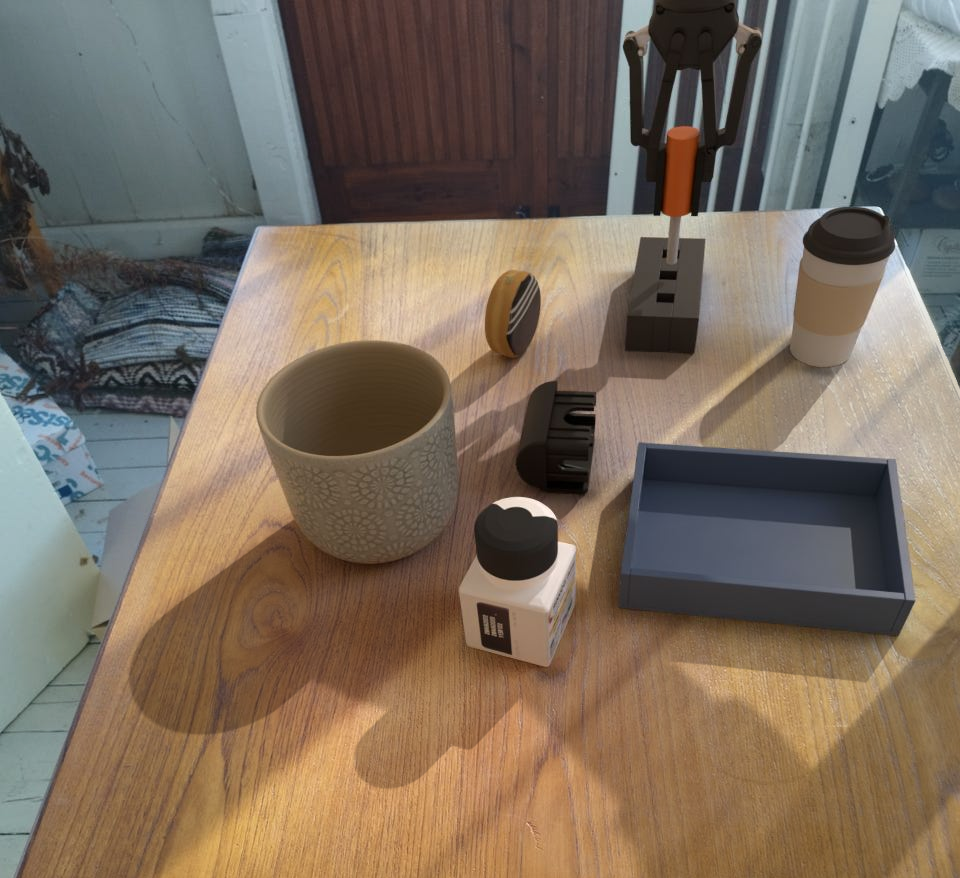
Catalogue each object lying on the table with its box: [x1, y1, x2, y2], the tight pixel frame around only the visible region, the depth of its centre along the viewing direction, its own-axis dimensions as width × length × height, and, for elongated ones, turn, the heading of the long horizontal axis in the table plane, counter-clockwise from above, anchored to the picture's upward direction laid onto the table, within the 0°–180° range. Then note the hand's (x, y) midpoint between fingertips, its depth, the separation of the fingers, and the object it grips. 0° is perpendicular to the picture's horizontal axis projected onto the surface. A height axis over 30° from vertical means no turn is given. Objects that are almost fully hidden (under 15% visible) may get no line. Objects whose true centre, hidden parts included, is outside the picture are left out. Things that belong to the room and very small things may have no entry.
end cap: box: [515, 380, 597, 495], centre depth 88 cm, size 10×7×7 cm
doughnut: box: [484, 269, 542, 359], centre depth 100 cm, size 9×4×10 cm, turn 153°
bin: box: [617, 441, 916, 637], centre depth 79 cm, size 24×18×4 cm
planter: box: [255, 339, 459, 565], centre depth 81 cm, size 17×17×15 cm
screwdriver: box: [661, 125, 701, 265], centre depth 96 cm, size 3×3×14 cm
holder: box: [624, 236, 707, 354], centre depth 105 cm, size 8×18×4 cm, turn 169°
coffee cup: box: [789, 205, 896, 368], centre depth 93 cm, size 9×9×15 cm
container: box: [458, 496, 577, 668], centre depth 72 cm, size 8×8×13 cm
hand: (676, 209), depth 97 cm, fingers closed on screwdriver, 3 cm apart
